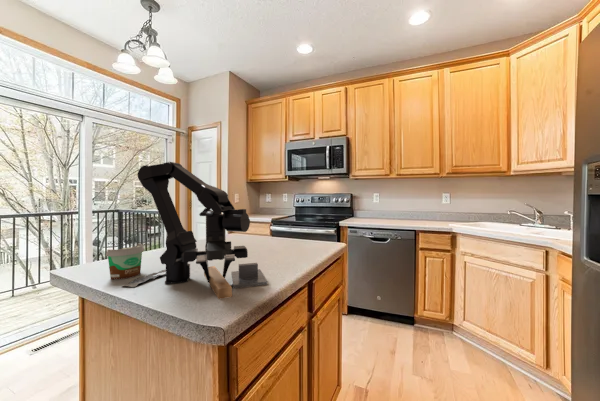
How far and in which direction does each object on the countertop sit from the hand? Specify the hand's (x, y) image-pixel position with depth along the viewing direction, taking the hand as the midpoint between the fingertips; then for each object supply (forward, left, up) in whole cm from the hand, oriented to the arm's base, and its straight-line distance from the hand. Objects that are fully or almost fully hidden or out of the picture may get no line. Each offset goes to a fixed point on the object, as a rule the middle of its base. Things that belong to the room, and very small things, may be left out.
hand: (216, 281), depth 80 cm
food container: (-28, +18, -1) cm, 33 cm away
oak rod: (0, 0, -1) cm, 1 cm away
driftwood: (-20, +14, -2) cm, 25 cm away
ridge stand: (+10, +2, -1) cm, 10 cm away
